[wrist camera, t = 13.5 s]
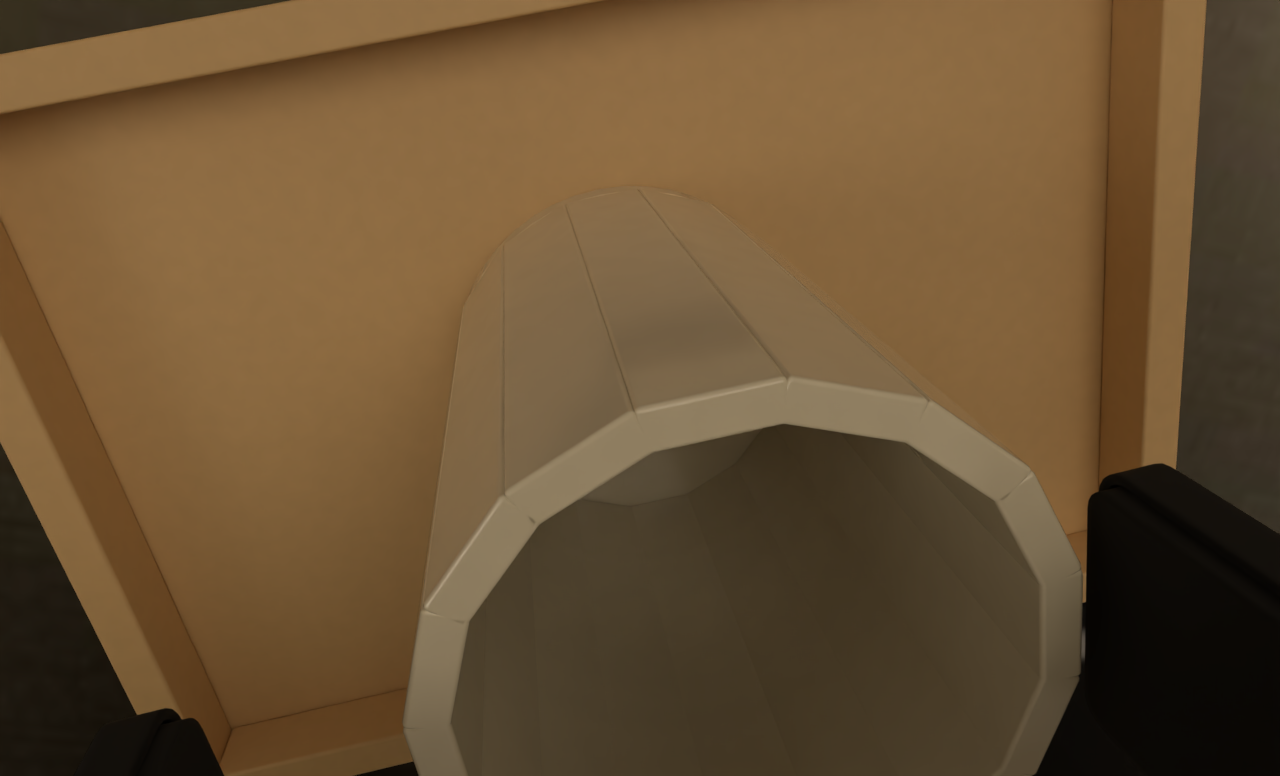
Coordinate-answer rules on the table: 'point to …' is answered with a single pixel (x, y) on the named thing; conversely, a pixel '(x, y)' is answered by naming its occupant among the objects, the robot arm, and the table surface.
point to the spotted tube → (1083, 739)
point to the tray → (470, 233)
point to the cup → (720, 528)
